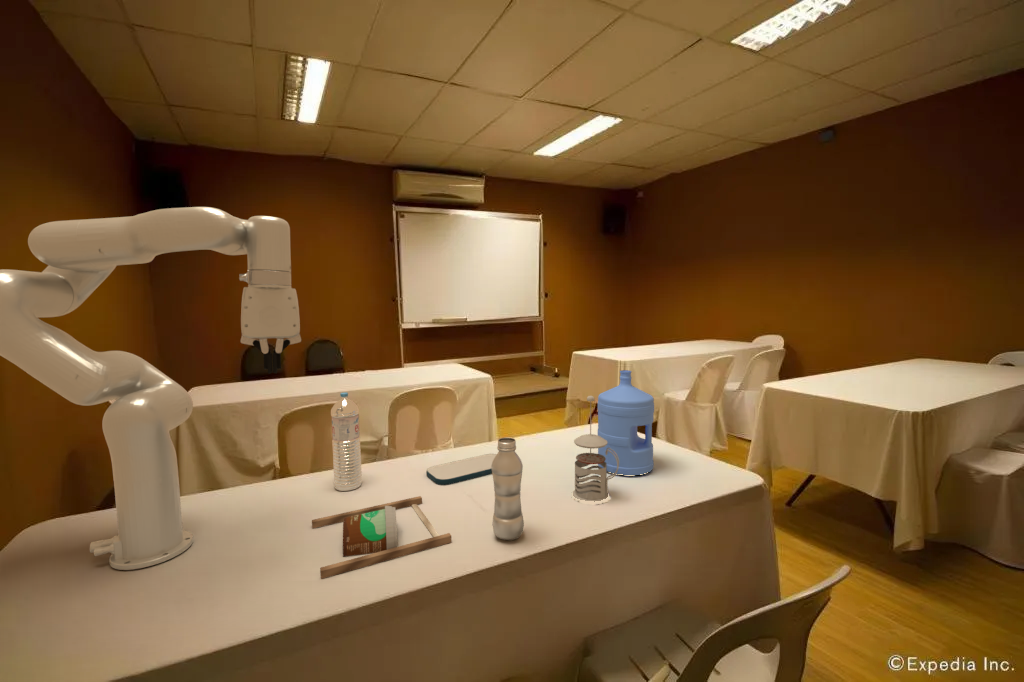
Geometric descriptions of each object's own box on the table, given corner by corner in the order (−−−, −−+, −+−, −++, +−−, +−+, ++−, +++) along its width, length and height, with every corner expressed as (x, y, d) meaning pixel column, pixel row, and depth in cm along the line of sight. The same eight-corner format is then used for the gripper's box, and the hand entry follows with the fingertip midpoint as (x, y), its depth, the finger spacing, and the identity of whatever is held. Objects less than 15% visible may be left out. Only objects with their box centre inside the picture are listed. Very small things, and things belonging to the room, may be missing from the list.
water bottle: (353, 493, 112) (348, 396, 110) (328, 491, 114) (324, 395, 112) (367, 482, 119) (363, 390, 117) (344, 480, 120) (339, 390, 118)
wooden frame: (321, 578, 77) (320, 571, 77) (312, 526, 95) (311, 519, 95) (451, 542, 88) (451, 535, 88) (420, 501, 107) (420, 496, 107)
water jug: (592, 473, 123) (592, 373, 121) (603, 455, 137) (603, 366, 135) (650, 481, 117) (651, 376, 115) (655, 461, 131) (656, 368, 129)
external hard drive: (494, 458, 137) (494, 452, 137) (515, 469, 128) (515, 463, 128) (422, 475, 125) (422, 468, 124) (439, 489, 115) (439, 481, 115)
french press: (575, 485, 115) (574, 390, 113) (620, 491, 111) (621, 393, 109) (566, 501, 106) (566, 398, 104) (615, 508, 102) (616, 401, 100)
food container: (345, 501, 93) (394, 494, 96) (346, 529, 94) (395, 521, 97) (341, 529, 82) (396, 520, 85) (342, 560, 82) (398, 551, 85)
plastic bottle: (496, 547, 86) (494, 446, 85) (489, 530, 93) (487, 436, 91) (528, 541, 88) (527, 443, 86) (518, 525, 94) (517, 434, 93)
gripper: (223, 278, 81) (226, 377, 82) (312, 281, 88) (314, 373, 89) (227, 280, 88) (230, 372, 89) (310, 283, 94) (312, 368, 96)
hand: (272, 372), depth 89 cm, fingers closed
